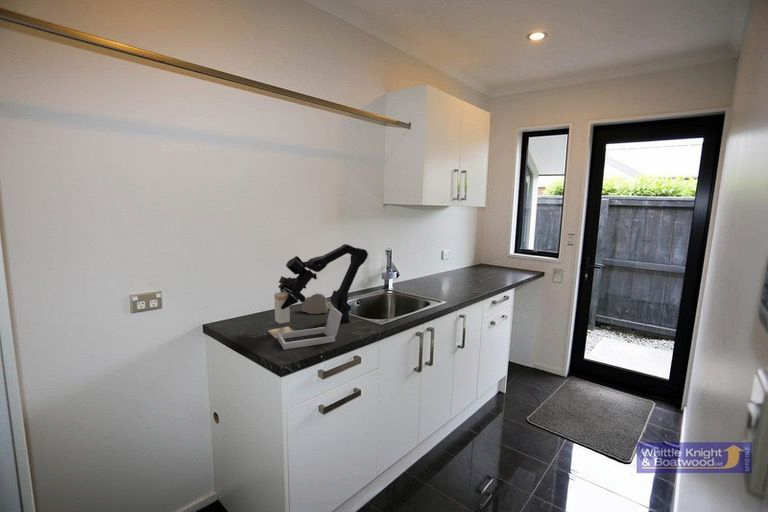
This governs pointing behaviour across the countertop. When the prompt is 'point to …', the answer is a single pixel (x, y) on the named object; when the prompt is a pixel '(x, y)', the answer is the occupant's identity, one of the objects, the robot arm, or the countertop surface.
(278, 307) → the module
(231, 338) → the countertop surface
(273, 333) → the pad
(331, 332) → the grey angled frame
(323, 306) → the pumice stone
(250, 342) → the countertop surface
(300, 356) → the countertop surface
